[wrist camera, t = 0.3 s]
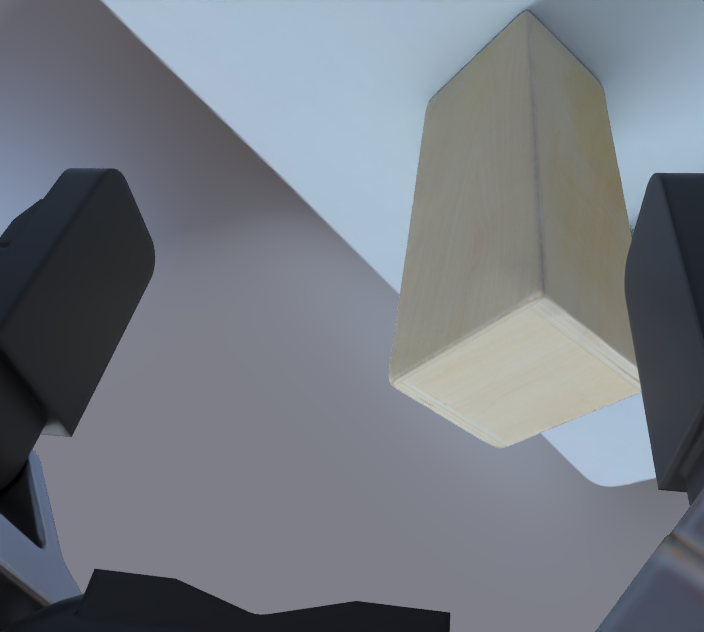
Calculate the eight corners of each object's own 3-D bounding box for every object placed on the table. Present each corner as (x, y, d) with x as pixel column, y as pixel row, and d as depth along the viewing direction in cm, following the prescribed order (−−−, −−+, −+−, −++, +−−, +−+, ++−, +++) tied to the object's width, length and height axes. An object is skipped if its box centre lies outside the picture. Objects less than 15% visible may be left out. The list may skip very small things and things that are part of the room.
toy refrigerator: (505, 175, 42) (508, 460, 29) (423, 105, 40) (381, 383, 26) (612, 93, 37) (678, 392, 23) (526, 5, 34) (544, 286, 21)
